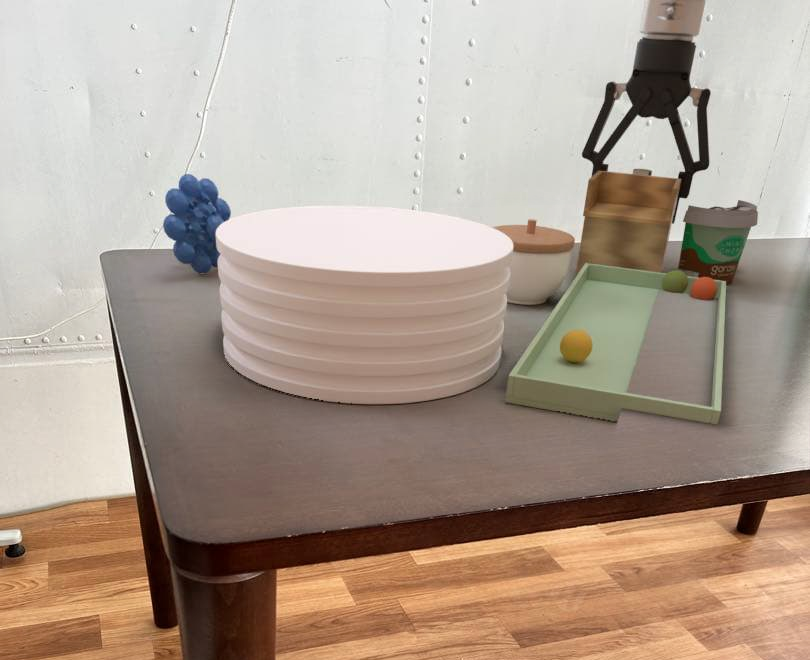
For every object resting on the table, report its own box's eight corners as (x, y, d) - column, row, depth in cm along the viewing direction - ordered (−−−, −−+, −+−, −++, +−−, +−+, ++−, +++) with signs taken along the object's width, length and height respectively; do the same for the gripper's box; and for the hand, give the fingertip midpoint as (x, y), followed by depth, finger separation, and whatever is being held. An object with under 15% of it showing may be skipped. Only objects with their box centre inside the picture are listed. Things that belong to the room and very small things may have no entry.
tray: (721, 301, 107) (726, 281, 105) (713, 439, 69) (721, 411, 68) (582, 282, 111) (585, 262, 110) (504, 402, 74) (508, 375, 73)
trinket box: (517, 315, 97) (527, 232, 92) (463, 291, 104) (470, 214, 99) (582, 304, 102) (596, 225, 97) (526, 282, 109) (536, 208, 104)
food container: (706, 292, 110) (725, 214, 105) (669, 281, 114) (686, 205, 109) (759, 282, 116) (780, 207, 111) (722, 271, 120) (741, 199, 115)
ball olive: (689, 288, 106) (687, 264, 104) (688, 297, 104) (686, 273, 102) (663, 292, 107) (661, 268, 106) (662, 301, 105) (660, 277, 103)
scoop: (676, 206, 117) (684, 172, 115) (669, 226, 105) (677, 188, 102) (598, 198, 120) (604, 165, 118) (582, 216, 108) (588, 179, 105)
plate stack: (556, 378, 80) (575, 257, 73) (289, 425, 67) (285, 284, 61) (413, 300, 100) (419, 200, 94) (188, 325, 88) (177, 212, 81)
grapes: (198, 289, 99) (189, 183, 93) (156, 279, 102) (145, 175, 95) (258, 270, 108) (253, 172, 102) (218, 261, 111) (211, 165, 104)
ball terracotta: (711, 298, 105) (724, 298, 101) (688, 306, 104) (700, 306, 101) (706, 273, 103) (720, 273, 100) (683, 281, 103) (696, 281, 100)
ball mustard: (588, 370, 82) (595, 341, 83) (588, 356, 79) (596, 326, 80) (557, 364, 83) (564, 336, 84) (556, 351, 80) (563, 321, 81)
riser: (660, 277, 116) (673, 217, 112) (657, 287, 111) (670, 225, 107) (581, 266, 119) (591, 208, 114) (575, 276, 114) (584, 215, 109)
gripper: (577, 32, 107) (552, 212, 118) (759, 43, 101) (714, 231, 113) (585, 33, 113) (561, 204, 124) (758, 43, 107) (715, 222, 119)
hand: (633, 217), depth 119 cm, fingers open, 10 cm apart
